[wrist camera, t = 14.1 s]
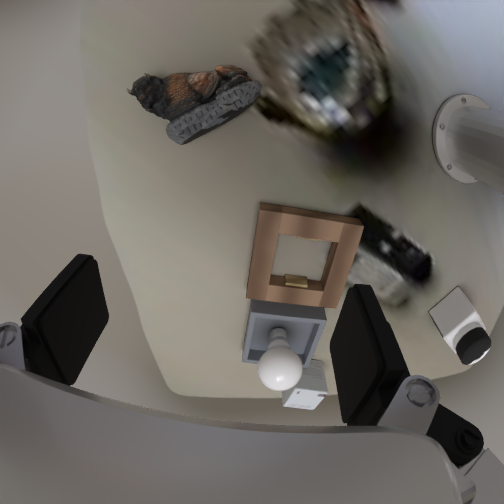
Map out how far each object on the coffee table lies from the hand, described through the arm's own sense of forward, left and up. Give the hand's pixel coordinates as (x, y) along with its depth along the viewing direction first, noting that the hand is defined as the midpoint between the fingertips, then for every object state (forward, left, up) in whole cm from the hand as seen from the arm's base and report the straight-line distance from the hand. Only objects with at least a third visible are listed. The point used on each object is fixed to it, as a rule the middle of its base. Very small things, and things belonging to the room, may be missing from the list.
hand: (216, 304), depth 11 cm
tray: (-8, +26, -27) cm, 39 cm away
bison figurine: (+7, -7, -28) cm, 29 cm away
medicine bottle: (-38, +19, -27) cm, 51 cm away
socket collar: (-8, +12, -27) cm, 31 cm away
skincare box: (-14, +36, -27) cm, 47 cm away
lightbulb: (-8, +26, -27) cm, 38 cm away
